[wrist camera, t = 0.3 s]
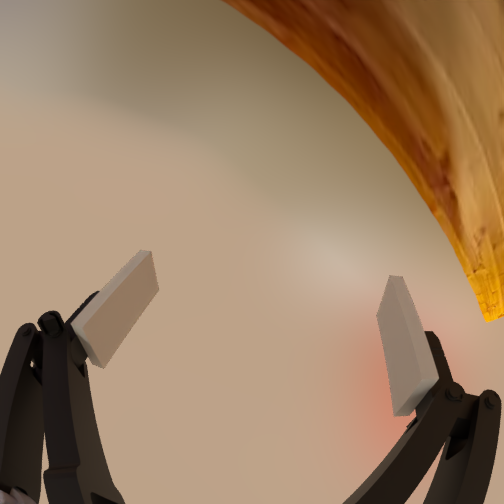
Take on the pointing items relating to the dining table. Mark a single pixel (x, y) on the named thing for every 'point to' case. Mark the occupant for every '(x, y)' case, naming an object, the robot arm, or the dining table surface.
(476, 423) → the robot arm
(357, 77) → the dining table surface
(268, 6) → the dining table surface
